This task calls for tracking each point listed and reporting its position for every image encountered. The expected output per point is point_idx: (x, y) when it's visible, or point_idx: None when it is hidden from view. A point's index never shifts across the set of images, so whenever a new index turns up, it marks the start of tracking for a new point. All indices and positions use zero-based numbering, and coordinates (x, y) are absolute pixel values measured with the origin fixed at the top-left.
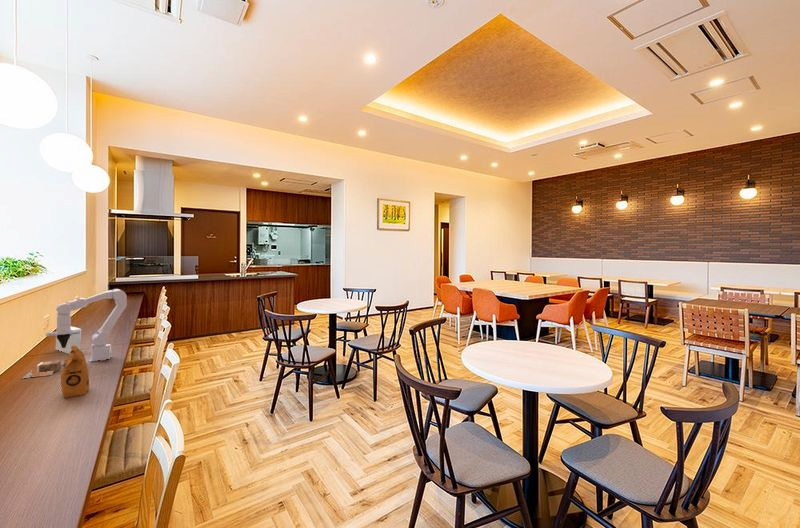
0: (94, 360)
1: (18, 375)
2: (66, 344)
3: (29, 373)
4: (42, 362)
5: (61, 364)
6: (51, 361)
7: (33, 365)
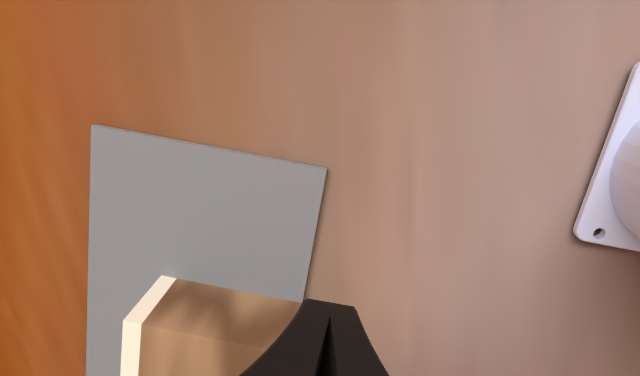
0: (631, 248)
1: (30, 331)
2: (365, 334)
3: (100, 352)
4: (138, 336)
5: (315, 194)
6: (221, 349)
7: (43, 8)
